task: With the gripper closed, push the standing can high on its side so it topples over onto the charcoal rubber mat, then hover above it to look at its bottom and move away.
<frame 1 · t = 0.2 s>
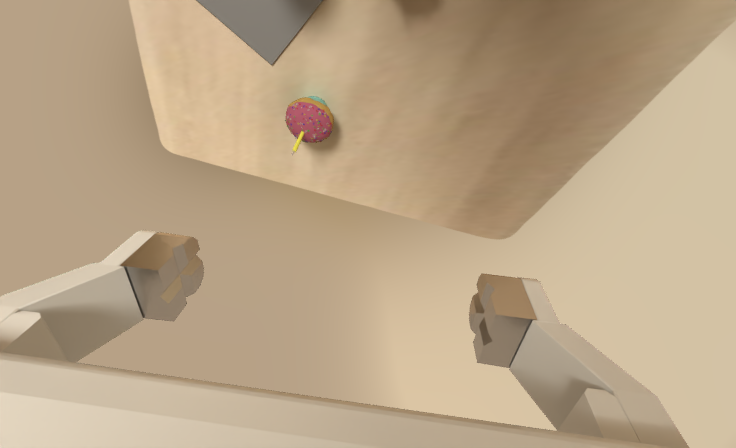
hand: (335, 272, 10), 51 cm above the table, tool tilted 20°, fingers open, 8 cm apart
cupcake: (315, 106, 66), on the table
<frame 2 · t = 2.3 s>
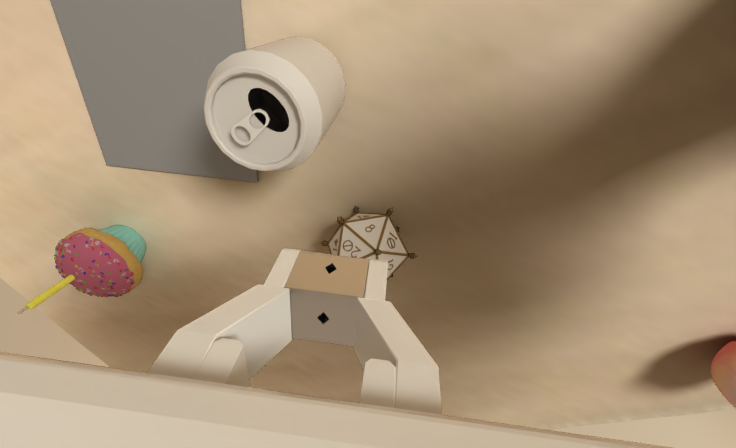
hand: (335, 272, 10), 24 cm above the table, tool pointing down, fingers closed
cupcake: (128, 239, 43), on the table
game die: (371, 226, 38), on the table
decorative fruit: (733, 341, 42), on the table
mat: (159, 68, 31), on the table
can: (305, 83, 31), on the table
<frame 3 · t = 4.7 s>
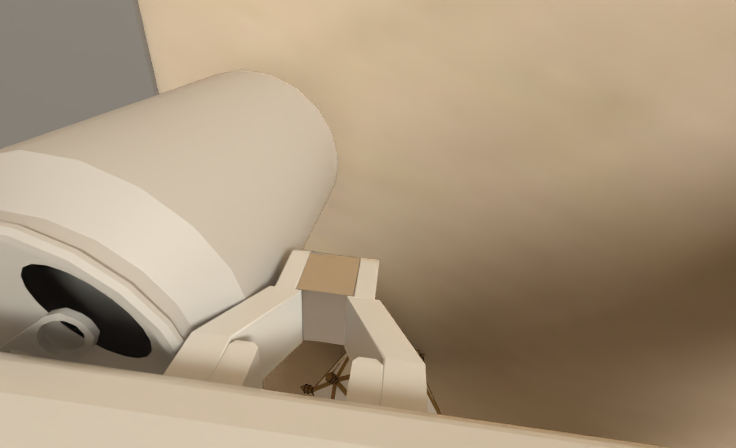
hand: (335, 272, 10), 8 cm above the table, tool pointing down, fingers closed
game die: (380, 349, 25), on the table
mat: (14, 118, 18), on the table
can: (268, 148, 17), on the table, touching gripper
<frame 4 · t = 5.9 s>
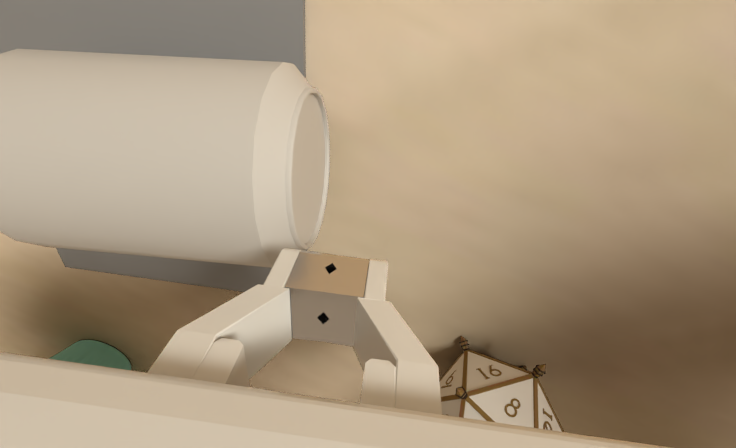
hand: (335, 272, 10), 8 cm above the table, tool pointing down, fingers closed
cupcake: (105, 355, 29), on the table
game die: (479, 360, 25), on the table
mat: (148, 129, 18), on the table
can: (320, 171, 13), point 4 cm above the table, touching mat
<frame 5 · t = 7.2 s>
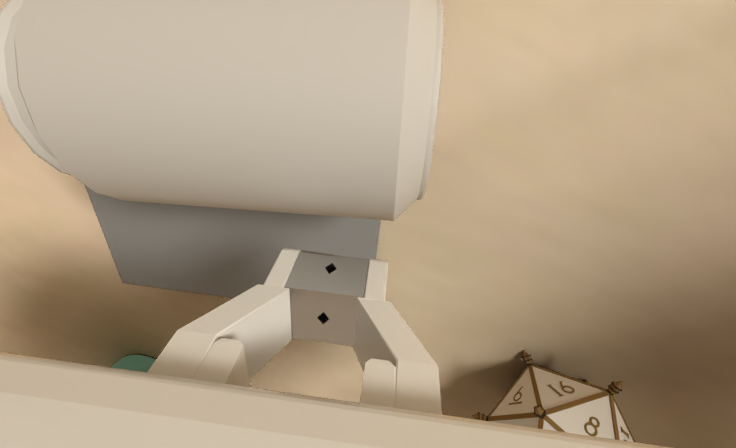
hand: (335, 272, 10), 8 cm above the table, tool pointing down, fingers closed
cupcake: (151, 369, 29), on the table
game die: (538, 374, 24), on the table
mat: (224, 147, 17), on the table
can: (435, 108, 11), point 4 cm above the table, touching mat
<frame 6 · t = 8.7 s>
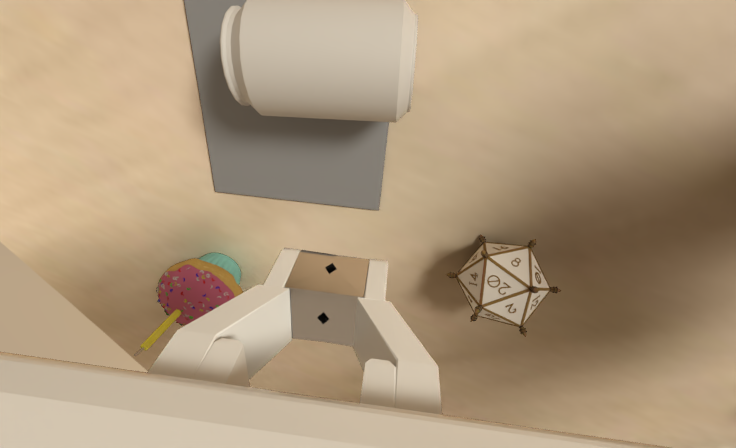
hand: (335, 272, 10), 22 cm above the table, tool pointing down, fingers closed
cupcake: (221, 267, 40), on the table
game die: (492, 255, 36), on the table
mat: (294, 92, 29), on the table
can: (416, 65, 24), point 4 cm above the table, touching mat
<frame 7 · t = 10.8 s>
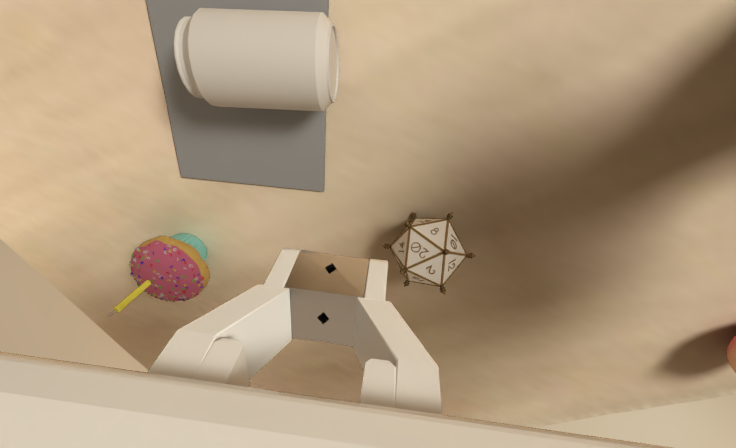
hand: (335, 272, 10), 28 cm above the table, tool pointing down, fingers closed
cupcake: (190, 247, 45), on the table
game die: (424, 230, 42), on the table
mat: (245, 89, 35), on the table
can: (336, 64, 29), point 4 cm above the table, touching mat
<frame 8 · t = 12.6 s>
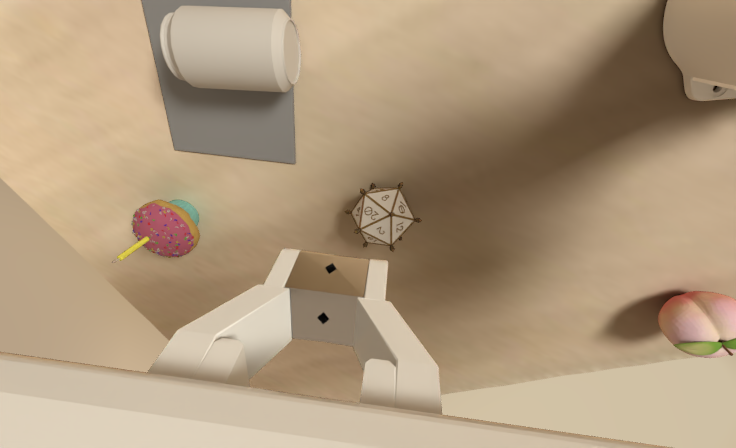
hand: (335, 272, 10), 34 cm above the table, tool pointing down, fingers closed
cupcake: (184, 212, 52), on the table
game die: (384, 200, 48), on the table
decorative fruit: (678, 297, 51), on the table
mat: (225, 74, 41), on the table
can: (295, 52, 35), point 4 cm above the table, touching mat
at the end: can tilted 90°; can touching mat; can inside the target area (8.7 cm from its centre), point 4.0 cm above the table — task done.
